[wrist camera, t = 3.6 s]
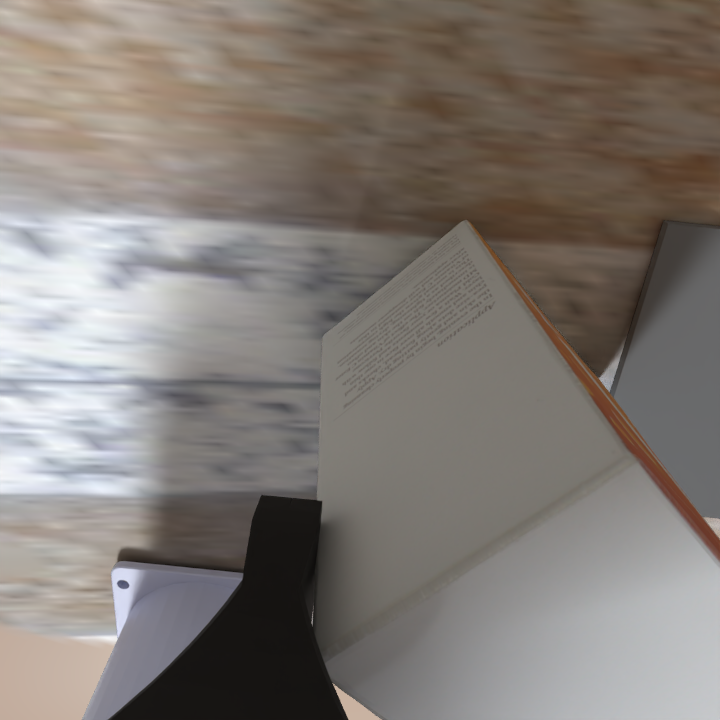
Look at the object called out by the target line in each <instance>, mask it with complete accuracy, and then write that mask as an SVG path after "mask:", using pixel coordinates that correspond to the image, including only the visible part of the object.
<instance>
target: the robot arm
mask: <svg viewBox="0 0 720 720" xmlns="http://www.w3.org/2000/svg"><path fill="white" fill-rule="evenodd" d="M321 514H322V501H318V500H308V499H297V498H293V499H292V498H286V497H276V496H265V495H261V498H260V500H259V503H258V505H257V508H256V511H255V513H254V516H253V519H252V524H251V530H250V536H249V542H248V548H247V554H246V561H245V567H244V573H237V572H227V571H218V570H208V569H198V568H188V567H178V566H168V565H158V564H148V563H139V562H129V561H120V562H117V563H116V564H115V565H114V567H113V569H112V571H111V579H112V588H113V598H114V608H115V617H116V627H117V637H118V640H117V642H116V644H115V647H114V649H113V651H112V653H111V656H110V658H109V660H108V662H107V665H106V667H105V669H104V671H103V674H102V676H101V678H100V680H99V682H98V685H97V687H96V689H95V691H94V694H93V696H92V698H91V700H90V703H89V705H88V707H87V709H86V712H85V714H84V716H83V718H82V720H348V718H347V716H346V713H345V711H344V709H343V706H342V704H341V702H340V700H339V697H338V695H337V693H336V690H335V688H334V686H333V684H332V681H331V679H330V676H329V674H328V671H327V668H326V666H325V663H324V660H323V658H322V655H321V652H320V649H319V646H318V643H317V640H316V637H315V634H314V630H313V627H312V624H311V620H312V612H313V604H314V581H315V565H316V557H317V549H318V541H319V534H320V526H321ZM123 580H124V581H127V582H124V581H123Z"/></svg>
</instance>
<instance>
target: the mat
mask: <svg viewBox="0 0 720 720" xmlns="http://www.w3.org/2000/svg"><path fill="white" fill-rule="evenodd" d="M610 394H611V395H612V396H613V398H614V399H615V400H616V402H617V403H618V404H619V406H620V407H621V408H622V410H623V411H624V412H625V414H626V415H627V417H628V418H629V419H630V421H631V422H632V423H633V424H634V426H635V427H636V429H637V430H638V432H639V433H640V434H641V436H642V437H643V439H644V440H645V441H646V443H647V444H648V446H649V447H650V448H651V450H652V451H653V452H654V454H655V455H656V456H657V458H658V459H659V460H660V461H661V463H662V464H663V465H664V467H665V468H666V469H667V471H668V472H669V473H670V474H671V476H672V477H673V478H674V480H675V481H676V482H677V484H678V485H679V486H680V488H681V489H682V490H683V492H684V493H685V494H686V495H687V497H688V498H689V499H690V501H691V502H692V503H693V505H694V506H695V507H696V509H697V510H698V511H699V513H700V514H701V515H702V516H703V517H709V518H719V519H720V226H712V225H703V224H693V223H684V222H674V221H665V220H664V221H663V224H662V227H661V230H660V234H659V237H658V240H657V243H656V247H655V250H654V253H653V256H652V259H651V263H650V266H649V269H648V272H647V276H646V279H645V282H644V285H643V288H642V292H641V295H640V298H639V301H638V304H637V308H636V311H635V314H634V317H633V321H632V324H631V327H630V330H629V333H628V337H627V340H626V343H625V346H624V350H623V353H622V356H621V359H620V362H619V366H618V369H617V372H616V375H615V378H614V382H613V385H612V388H611V391H610Z"/></svg>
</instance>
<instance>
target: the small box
mask: <svg viewBox="0 0 720 720" xmlns="http://www.w3.org/2000/svg"><path fill="white" fill-rule="evenodd" d="M317 500H318V501H322V514H321V526H320V534H319V541H318V549H317V557H316V565H315V581H314V612H313V630H314V634H315V637H316V640H317V643H318V646H319V649H320V652H321V655H322V658H323V660H324V663H325V666H326V668H327V671H328V674H329V676H330V679H331V681H332V683H333V684H335V685H336V686H337V687H338V688H340V689H341V690H342V691H344V692H345V693H347V694H348V695H349V696H351V697H352V698H354V699H355V700H356V701H358V702H359V703H361V704H362V705H363V706H364V707H366V708H367V709H368V710H370V711H371V712H372V713H374V714H375V715H376V716H378V717H379V718H381V719H382V720H720V539H719V537H718V536H717V535H716V534H715V532H714V531H713V530H712V528H711V527H710V526H709V524H708V523H707V522H706V520H705V519H704V518H703V516H702V515H701V514H700V513H699V511H698V510H697V509H696V507H695V506H694V505H693V503H692V502H691V501H690V499H689V498H688V497H687V495H686V494H685V493H684V492H683V490H682V489H681V488H680V486H679V485H678V484H677V482H676V481H675V480H674V478H673V477H672V476H671V474H670V473H669V472H668V471H667V469H666V468H665V467H664V465H663V464H662V463H661V461H660V460H659V459H658V458H657V456H656V455H655V454H654V452H653V451H652V450H651V448H650V447H649V446H648V444H647V443H646V441H645V440H644V439H643V437H642V436H641V434H640V433H639V432H638V430H637V429H636V427H635V426H634V424H633V423H632V422H631V421H630V419H629V418H628V417H627V415H626V414H625V412H624V411H623V410H622V408H621V407H620V406H619V404H618V403H617V402H616V400H615V399H614V398H613V396H612V395H611V394H610V393H609V391H608V390H607V389H606V388H605V386H604V385H603V384H602V382H601V381H600V380H599V378H598V377H597V376H596V375H595V374H594V373H593V372H592V371H591V370H590V369H589V368H588V367H587V365H586V364H585V363H584V362H583V361H582V359H581V358H580V357H579V356H578V355H577V353H576V352H575V351H574V350H573V349H572V347H571V346H570V345H569V344H568V343H567V341H566V340H565V339H564V338H563V336H562V335H561V334H560V333H559V332H558V330H557V329H556V328H555V327H554V326H553V324H552V323H551V322H550V321H549V320H548V318H547V317H546V316H545V315H544V313H543V312H542V311H541V310H540V308H539V307H538V306H537V305H536V303H535V302H534V301H533V300H532V298H531V297H530V296H529V295H528V293H527V292H526V291H525V290H524V289H523V287H522V286H521V285H520V284H519V282H518V281H517V280H516V279H515V277H514V276H513V275H512V274H511V272H510V271H509V270H508V269H507V268H506V266H505V265H504V264H503V263H502V261H501V260H500V259H499V258H498V256H497V255H496V254H495V253H494V251H493V250H492V249H491V248H490V247H489V245H488V244H487V243H486V242H485V240H484V239H483V238H482V237H481V235H480V234H479V233H478V231H477V230H476V229H475V227H474V226H473V225H472V224H471V223H470V222H469V221H468V220H464V221H462V222H460V223H459V224H458V225H457V226H455V227H454V228H453V229H452V230H451V231H449V232H448V233H447V234H446V235H445V236H443V237H442V238H441V239H440V240H439V241H437V242H436V243H435V244H434V245H433V246H432V247H430V248H429V249H428V250H427V251H425V252H424V253H423V254H422V255H420V256H419V257H418V258H417V259H416V260H414V261H413V262H412V263H411V264H410V265H408V266H407V267H406V268H405V269H404V270H402V271H401V272H400V273H399V274H398V275H396V276H395V277H394V278H393V279H392V280H390V281H389V282H388V283H387V284H385V285H384V286H383V287H382V288H380V289H379V290H378V291H377V292H376V293H374V294H373V295H372V296H370V297H369V298H368V299H367V300H366V301H365V302H363V303H362V304H361V305H360V306H359V307H357V308H356V309H355V310H354V311H353V312H351V313H350V314H349V315H348V316H347V317H345V318H344V319H343V320H342V321H341V322H339V323H338V324H337V325H336V326H334V327H333V328H332V329H331V330H329V331H328V332H327V333H326V334H325V335H324V336H323V337H322V354H321V383H320V412H319V450H318V478H317Z"/></svg>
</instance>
